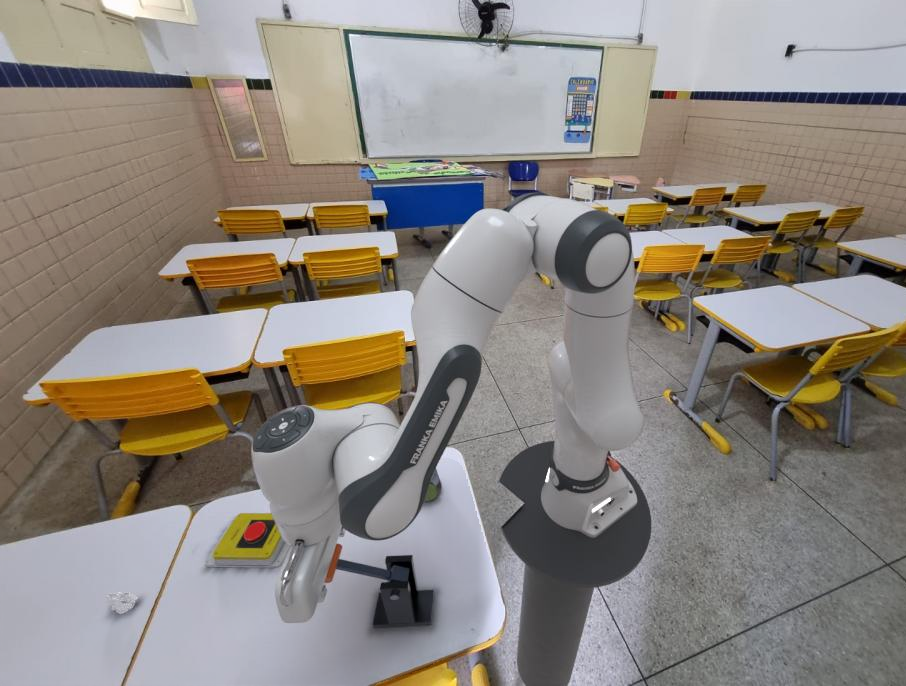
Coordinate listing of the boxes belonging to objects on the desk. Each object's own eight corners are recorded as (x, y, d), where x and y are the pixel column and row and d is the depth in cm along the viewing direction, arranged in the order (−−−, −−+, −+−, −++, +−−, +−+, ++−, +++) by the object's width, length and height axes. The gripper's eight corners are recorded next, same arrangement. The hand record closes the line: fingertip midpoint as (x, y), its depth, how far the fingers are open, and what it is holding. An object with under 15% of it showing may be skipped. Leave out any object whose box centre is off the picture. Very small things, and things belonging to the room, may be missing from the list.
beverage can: (447, 491, 89) (444, 455, 83) (421, 512, 84) (416, 476, 78) (430, 474, 93) (426, 440, 87) (405, 494, 88) (399, 459, 82)
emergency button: (275, 554, 72) (195, 554, 71) (281, 567, 74) (203, 567, 74) (297, 508, 80) (226, 508, 80) (302, 521, 82) (232, 520, 82)
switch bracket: (372, 632, 65) (360, 593, 59) (380, 592, 70) (370, 553, 64) (431, 628, 66) (425, 590, 59) (434, 589, 71) (429, 550, 65)
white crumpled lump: (143, 601, 68) (133, 590, 67) (135, 613, 67) (125, 602, 65) (114, 602, 68) (104, 591, 66) (105, 614, 67) (94, 604, 65)
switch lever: (318, 582, 58) (322, 575, 57) (329, 549, 62) (333, 541, 61) (400, 599, 61) (406, 592, 60) (405, 566, 66) (410, 559, 65)
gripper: (305, 590, 44) (328, 644, 51) (355, 449, 62) (367, 503, 69) (249, 593, 44) (280, 647, 50) (315, 450, 62) (331, 504, 68)
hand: (330, 562), depth 60 cm, fingers open, 8 cm apart
